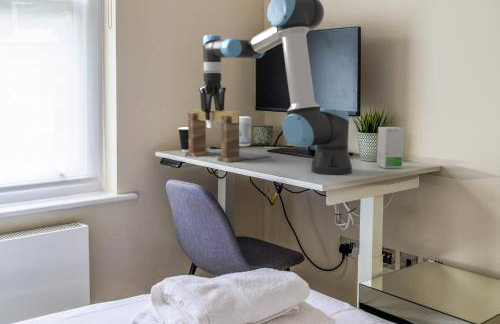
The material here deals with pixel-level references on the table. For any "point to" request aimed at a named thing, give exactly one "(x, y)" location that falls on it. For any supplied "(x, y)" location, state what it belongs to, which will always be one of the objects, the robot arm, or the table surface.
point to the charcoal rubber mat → (241, 154)
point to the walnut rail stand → (227, 138)
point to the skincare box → (390, 147)
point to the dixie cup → (184, 139)
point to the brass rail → (215, 115)
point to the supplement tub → (244, 131)
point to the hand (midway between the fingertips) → (213, 127)
